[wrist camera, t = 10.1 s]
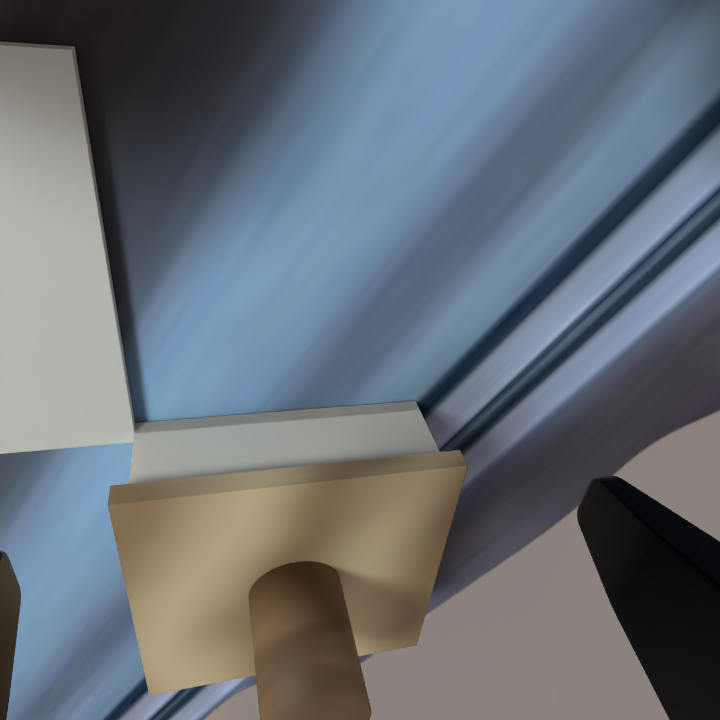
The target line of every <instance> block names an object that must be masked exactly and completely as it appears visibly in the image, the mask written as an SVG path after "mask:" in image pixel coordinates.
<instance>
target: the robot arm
mask: <svg viewBox="0 0 720 720" xmlns="http://www.w3.org/2000/svg"><path fill="white" fill-rule="evenodd" d="M577 517H578V523H579V526H580V528H581V531H582V533H583V536H584V538H585V541H586V543H587V546H588V548H589V551H590V553H591V556H592V558H593V561H594V564H595V566H596V568H597V571H598V573H599V576H600V579H601V581H602V584H603V586H604V589H605V591H606V594H607V596H608V598H609V601H610V603H611V605H612V608H613V610H614V611H615V614H616V616H617V618H618V620H619V622H620V624H621V626H622V628H623V629H624V632H625V634H626V635H627V638H628V639H629V641H630V643H631V645H632V647H633V649H634V651H635V653H636V655H637V657H638V659H639V661H640V663H641V665H642V667H643V669H644V671H645V673H646V675H647V676H648V679H649V680H650V682H651V684H652V686H653V688H654V690H655V692H656V694H657V696H658V698H659V700H660V702H661V704H662V706H663V708H664V709H665V712H666V714H667V715H668V718H669V720H720V542H719V541H718V540H716V539H715V538H713V537H712V536H710V535H709V534H707V533H706V532H704V531H702V530H700V529H699V528H698V527H696V526H695V525H693V524H692V523H690V522H688V521H687V520H685V519H684V518H682V517H681V516H679V515H678V514H676V513H674V512H673V511H671V510H670V509H668V508H667V507H665V506H663V505H662V504H660V503H659V502H657V501H656V500H654V499H653V498H651V497H649V496H648V495H646V494H645V493H643V492H642V491H640V490H638V489H637V488H635V487H634V486H632V485H631V484H629V483H628V482H626V481H625V480H623V479H621V478H619V477H616V476H606V477H598V478H594V479H593V480H592V481H591V482H590V484H589V486H588V488H587V490H586V492H585V494H584V496H583V499H582V501H581V503H580V505H579V507H578V512H577ZM20 603H21V591H20V586H19V583H18V580H17V578H16V575H15V573H14V570H13V568H12V565H11V563H10V560H9V557H8V556H7V554H6V553H5V552H3V551H0V720H6V718H7V711H8V703H9V696H10V687H11V679H12V671H13V662H14V654H15V646H16V637H17V629H18V620H19V612H20Z"/></svg>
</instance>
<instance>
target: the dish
mask: <svg viewBox="0 0 720 720" xmlns="http://www.w3.org/2000/svg"><path fill="white" fill-rule="evenodd" d="M436 452H440V451H439V449H438V447H437V445H436V443H435V441H434V439H433V437H432V434H431V432H430V430H429V428H428V426H427V424H426V422H425V420H424V418H423V416H422V414H421V412H420V410H419V407H418V405H417V403H416V401H406V402H393V403H381V404H368V405H355V406H343V407H330V408H317V409H305V410H292V411H279V412H267V413H254V414H241V415H228V416H216V417H203V418H190V419H178V420H165V421H152V422H140V423H135V428H134V439H133V449H132V460H131V470H130V480H129V484H133V483H143V482H153V481H162V480H172V479H182V478H192V477H201V476H211V475H221V474H231V473H240V472H250V471H260V470H270V469H280V468H289V467H299V466H309V465H319V464H328V463H338V462H348V461H358V460H367V459H377V458H387V457H397V456H406V455H416V454H426V453H436Z"/></svg>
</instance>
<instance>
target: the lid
mask: <svg viewBox="0 0 720 720" xmlns="http://www.w3.org/2000/svg"><path fill="white" fill-rule="evenodd" d="M467 467H468V465H467V463H466V461H465V459H464V457H463V455H462V453H461V451H460V450H455V451H445V452H436V453H426V454H416V455H406V456H397V457H387V458H377V459H367V460H358V461H348V462H338V463H328V464H319V465H309V466H299V467H289V468H280V469H270V470H260V471H250V472H240V473H231V474H221V475H211V476H201V477H192V478H182V479H172V480H162V481H153V482H143V483H133V484H123V485H114V486H110V492H109V500H108V508H109V513H110V517H111V522H112V526H113V531H114V536H115V540H116V545H117V549H118V554H119V558H120V563H121V568H122V572H123V577H124V581H125V586H126V590H127V595H128V599H129V604H130V609H131V613H132V618H133V622H134V627H135V631H136V636H137V640H138V645H139V650H140V654H141V659H142V663H143V668H144V672H145V677H146V682H147V686H148V691H149V695H153V694H158V693H164V692H169V691H174V690H180V689H185V688H190V687H196V686H201V685H207V684H212V683H217V682H223V681H228V680H233V679H239V678H244V677H250V676H255V675H256V682H257V692H258V703H259V713H260V720H369V719H370V717H371V707H370V703H369V699H368V695H367V691H366V687H365V682H364V678H363V673H362V669H361V665H360V661H359V657H358V656H362V655H368V654H373V653H378V652H383V651H389V650H394V649H400V648H405V647H411V646H416V645H417V642H418V639H419V635H420V632H421V628H422V625H423V621H424V618H425V614H426V611H427V607H428V604H429V600H430V597H431V593H432V590H433V586H434V583H435V579H436V576H437V572H438V569H439V565H440V562H441V558H442V555H443V551H444V548H445V544H446V541H447V537H448V534H449V530H450V527H451V523H452V520H453V516H454V513H455V509H456V506H457V502H458V499H459V495H460V492H461V488H462V485H463V481H464V478H465V474H466V471H467Z"/></svg>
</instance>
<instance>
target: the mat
mask: <svg viewBox="0 0 720 720" xmlns="http://www.w3.org/2000/svg"><path fill="white" fill-rule="evenodd" d="M134 428H135V420H134V413H133V407H132V401H131V395H130V388H129V382H128V376H127V370H126V364H125V357H124V351H123V345H122V339H121V332H120V326H119V320H118V314H117V308H116V301H115V295H114V289H113V283H112V276H111V270H110V264H109V258H108V252H107V245H106V239H105V233H104V227H103V220H102V214H101V208H100V202H99V196H98V189H97V183H96V177H95V171H94V164H93V158H92V152H91V146H90V140H89V133H88V127H87V121H86V115H85V108H84V102H83V96H82V90H81V84H80V77H79V71H78V65H77V59H76V52H75V46H60V45H45V44H30V43H15V42H0V454H3V453H14V452H26V451H38V450H49V449H61V448H72V447H84V446H96V445H107V444H119V443H130V442H133V439H134Z"/></svg>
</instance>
